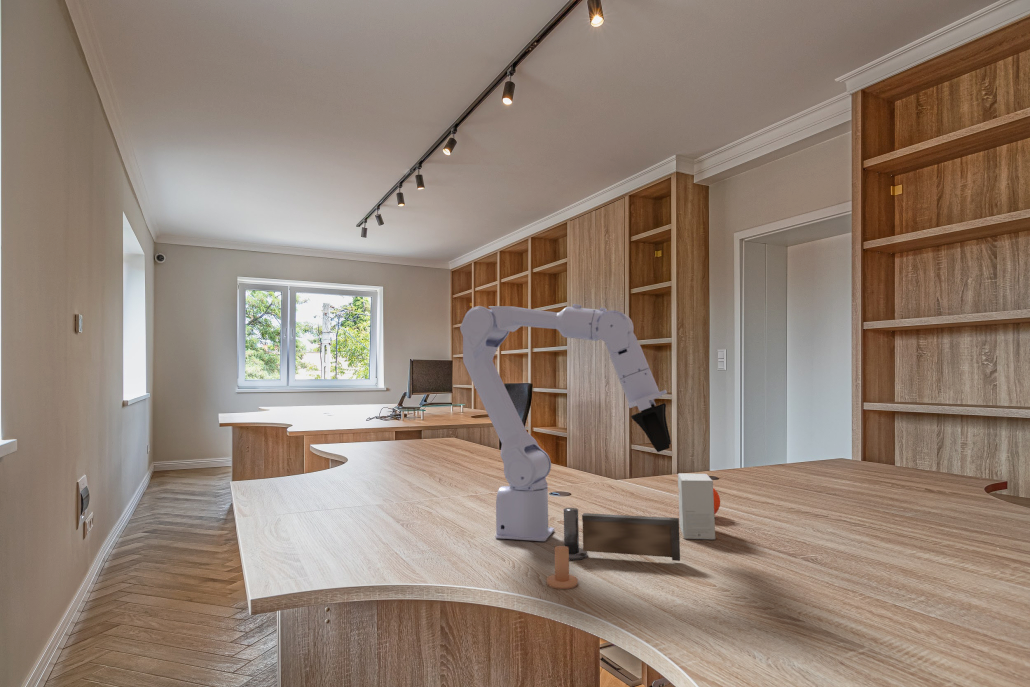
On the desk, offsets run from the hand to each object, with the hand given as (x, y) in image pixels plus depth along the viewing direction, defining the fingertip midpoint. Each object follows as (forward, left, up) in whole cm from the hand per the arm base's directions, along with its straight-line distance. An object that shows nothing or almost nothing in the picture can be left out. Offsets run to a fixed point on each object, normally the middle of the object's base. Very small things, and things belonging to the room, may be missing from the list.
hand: (664, 448), depth 99 cm
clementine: (+6, +23, -17) cm, 29 cm away
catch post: (-14, -21, -17) cm, 30 cm away
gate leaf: (-5, -8, -16) cm, 19 cm away
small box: (+5, +10, -17) cm, 21 cm away
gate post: (-15, -8, -17) cm, 24 cm away
